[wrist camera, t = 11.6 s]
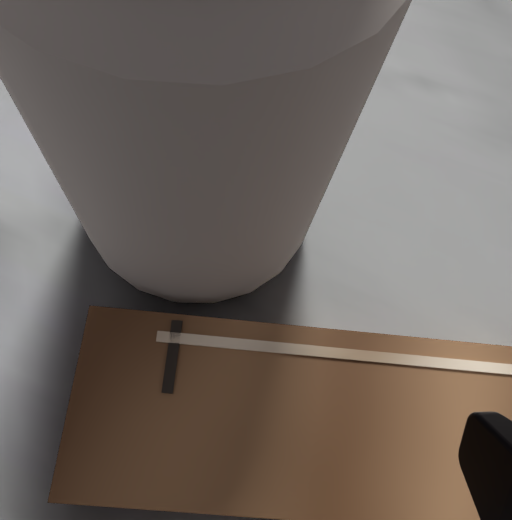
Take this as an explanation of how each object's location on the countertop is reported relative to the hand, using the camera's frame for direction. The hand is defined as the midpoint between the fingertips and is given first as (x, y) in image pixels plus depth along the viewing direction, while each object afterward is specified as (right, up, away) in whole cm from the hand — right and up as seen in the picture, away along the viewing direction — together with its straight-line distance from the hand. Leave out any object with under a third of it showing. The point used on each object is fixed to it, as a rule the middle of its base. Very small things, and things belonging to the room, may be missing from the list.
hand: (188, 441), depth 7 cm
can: (-1, +5, +10) cm, 11 cm away
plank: (+4, -2, +7) cm, 8 cm away
